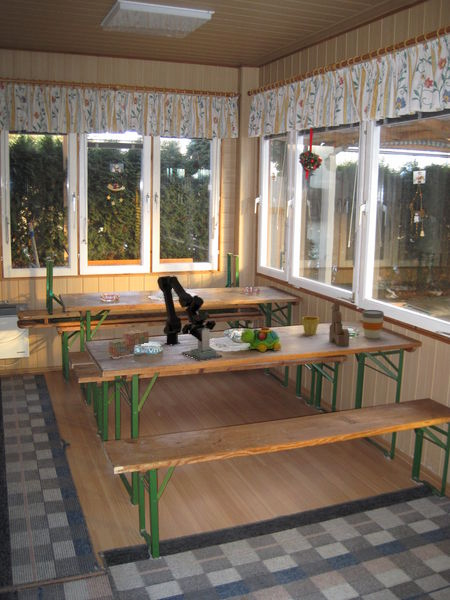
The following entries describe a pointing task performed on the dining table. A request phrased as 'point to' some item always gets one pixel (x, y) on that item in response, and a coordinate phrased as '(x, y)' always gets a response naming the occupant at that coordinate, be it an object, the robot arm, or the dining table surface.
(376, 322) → the reusable coffee cup
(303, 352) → the dining table surface
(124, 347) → the stack of blocks
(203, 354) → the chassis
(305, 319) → the plant pot
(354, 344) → the dining table surface
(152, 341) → the dining table surface
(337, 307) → the wooden toy
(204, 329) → the light grey rectangular block
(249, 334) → the turtle toy
